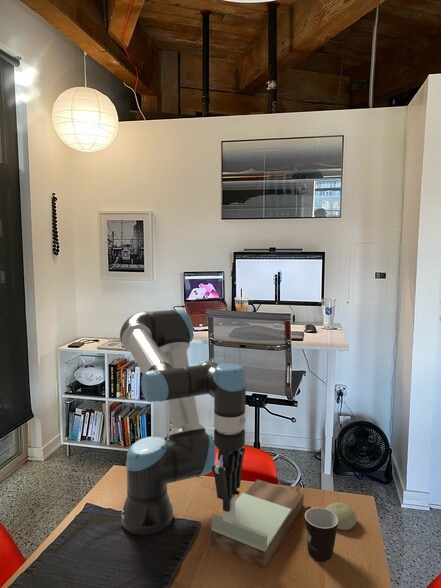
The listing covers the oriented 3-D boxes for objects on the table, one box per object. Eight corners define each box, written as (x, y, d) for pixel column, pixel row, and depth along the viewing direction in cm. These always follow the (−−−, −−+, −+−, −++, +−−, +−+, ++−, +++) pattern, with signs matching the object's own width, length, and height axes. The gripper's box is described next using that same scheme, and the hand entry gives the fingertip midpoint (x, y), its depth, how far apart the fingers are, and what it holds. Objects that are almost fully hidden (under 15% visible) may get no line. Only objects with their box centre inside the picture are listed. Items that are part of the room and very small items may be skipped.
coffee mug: (337, 567, 106) (339, 530, 105) (303, 561, 107) (304, 525, 106) (334, 536, 117) (336, 503, 116) (303, 532, 119) (304, 499, 118)
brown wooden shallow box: (210, 545, 113) (210, 531, 112) (257, 490, 139) (257, 479, 138) (264, 568, 105) (265, 553, 105) (303, 505, 131) (303, 493, 130)
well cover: (211, 530, 113) (211, 516, 112) (242, 495, 129) (242, 483, 128) (265, 551, 105) (265, 537, 104) (291, 511, 121) (291, 498, 121)
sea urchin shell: (322, 524, 119) (325, 494, 124) (323, 530, 125) (326, 501, 130) (355, 531, 116) (357, 501, 121) (355, 537, 122) (357, 508, 127)
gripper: (230, 442, 93) (229, 541, 95) (255, 422, 104) (253, 511, 107) (202, 435, 97) (201, 530, 99) (228, 416, 108) (228, 502, 110)
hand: (228, 520), depth 103 cm, fingers closed
